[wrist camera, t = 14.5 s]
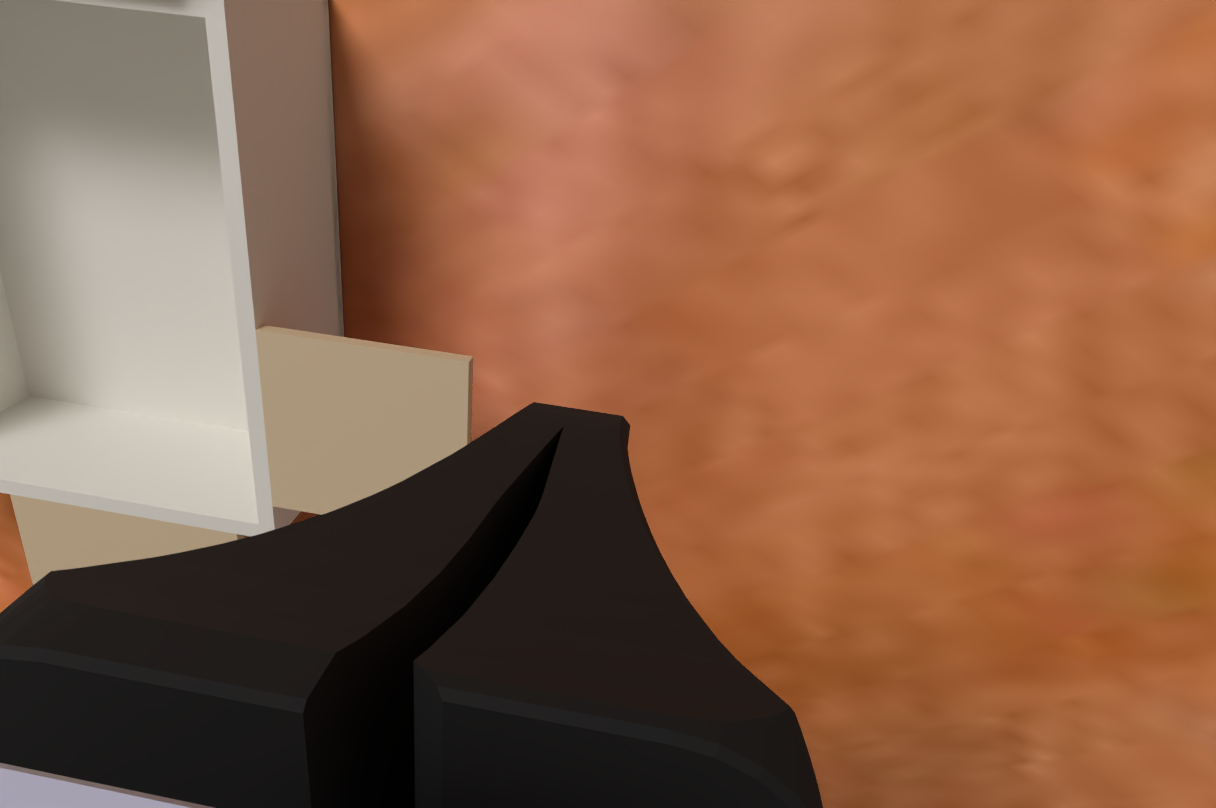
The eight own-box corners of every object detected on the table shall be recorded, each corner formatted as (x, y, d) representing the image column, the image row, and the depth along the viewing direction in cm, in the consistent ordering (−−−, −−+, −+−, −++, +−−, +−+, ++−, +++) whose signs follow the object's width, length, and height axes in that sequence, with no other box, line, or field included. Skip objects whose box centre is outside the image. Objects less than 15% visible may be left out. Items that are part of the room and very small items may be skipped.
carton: (504, 607, 27) (461, 713, 23) (55, 526, 28) (-56, 613, 24) (533, 12, 19) (475, 23, 16) (-79, -54, 21) (-268, -59, 17)
